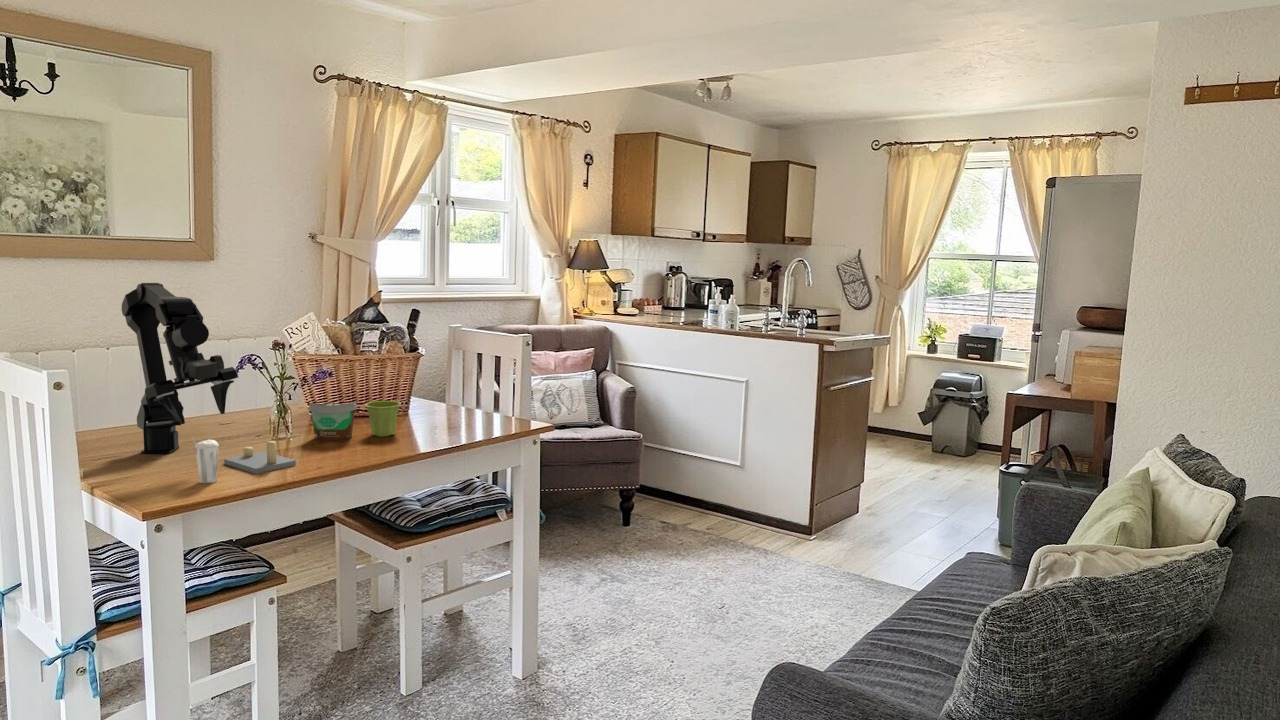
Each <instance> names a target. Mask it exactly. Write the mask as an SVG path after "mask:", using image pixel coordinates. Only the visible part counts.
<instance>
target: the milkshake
mask: <svg viewBox="0 0 1280 720" xmlns="http://www.w3.org/2000/svg"><path fill="white" fill-rule="evenodd" d="M191 438H192V440H193V443H194V447H195V448H194V449H195V455H196V460H197V469H198V480H199V483H200V484H213V483H215V482H217V477H218V476H217V474H218V459H219V458H218V457H219V450H220V449H219V446H220V445H219V443H218V442H217V441H216V440H214V439H207V440H201V441H198V442H196V439H195V438H194V436H193V435H192V436H191Z"/></svg>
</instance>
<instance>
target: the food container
mask: <svg viewBox="0 0 1280 720" xmlns="http://www.w3.org/2000/svg"><path fill="white" fill-rule="evenodd" d="M357 409H358V406H357V403H356V401H353V402H349V403H345V404H343V403H335V402H331V403H324V404H317V403H312V402H310V403H309V407H308V411H309V412H311V418H312V425H313V433H314V439H315V441H317V442H318V441H319V442H323V443H325V442H326V443H334V442H335V443H336V442H343V441H349V440H350V439H352V438H353V428H354V418H355V410H357Z"/></svg>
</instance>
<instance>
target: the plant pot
mask: <svg viewBox="0 0 1280 720" xmlns="http://www.w3.org/2000/svg"><path fill="white" fill-rule="evenodd" d="M364 405H365V407H366V410H367V413H368V417H369V423H370V429H371V434H372V436H376V437H380V438H381V437H389V436H393V435H395V434H396V427H397V421H398V412H399V410H400V406H401V405H402V403H401V402H400V401H394V400H377V401H376V400H375V401H370V402H366V403H365V404H364Z"/></svg>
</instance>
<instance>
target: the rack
mask: <svg viewBox="0 0 1280 720" xmlns="http://www.w3.org/2000/svg"><path fill="white" fill-rule="evenodd" d="M223 464H224V465H226V466H230V467H233V468H236V469H239V470H241V471H246V472H249V473H251V474H255V475H258V474H262V473H266V472H271V471H276V470H279V469H285V468H290V467H294V466H296V465H297V461H296V459H292V458H288V457H285V456H282V455H279V454H277V441H276V440H270V441H266V451H265V450H263V451H258V452H254V448H253V447H252V446H247V447H243V454H242V455H237V456H231V457H227V458H224V459H223Z"/></svg>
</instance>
